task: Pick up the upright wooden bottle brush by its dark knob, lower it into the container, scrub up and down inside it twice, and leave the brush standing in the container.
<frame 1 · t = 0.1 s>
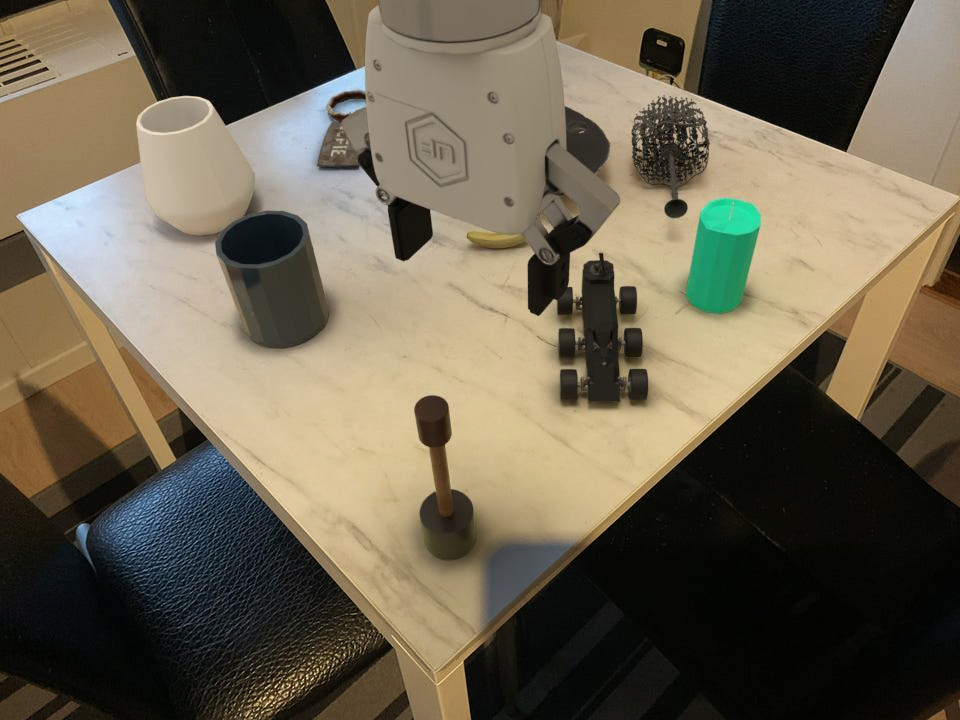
hand: (478, 273, 49), 27 cm above the table, tool pointing down, fingers open, 9 cm apart
protein box: (479, 80, 122), on the table
keychain: (347, 133, 114), on the table
toy vehicle: (598, 353, 81), on the table
banana: (502, 246, 94), on the table
board: (523, 176, 104), on the table
container: (287, 318, 87), on the table
massage brush: (666, 188, 101), on the table
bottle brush: (450, 537, 67), on the table
cup: (211, 214, 102), on the table
candle: (713, 296, 87), on the table
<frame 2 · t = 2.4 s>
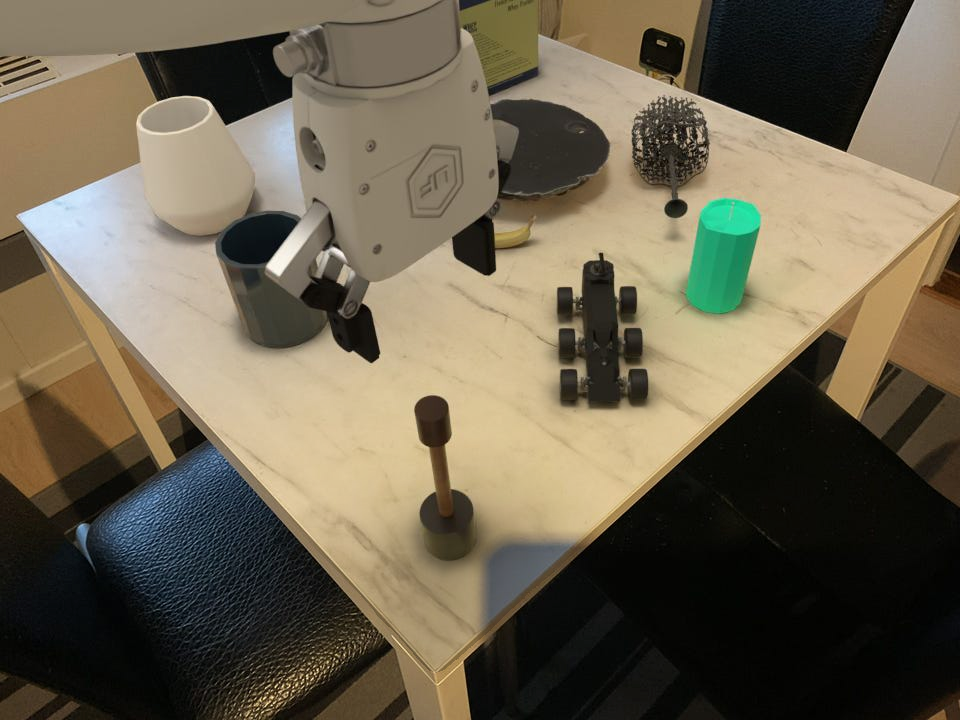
hand: (419, 305, 48), 26 cm above the table, tool pointing down, fingers open, 9 cm apart
nothing on the table moved.
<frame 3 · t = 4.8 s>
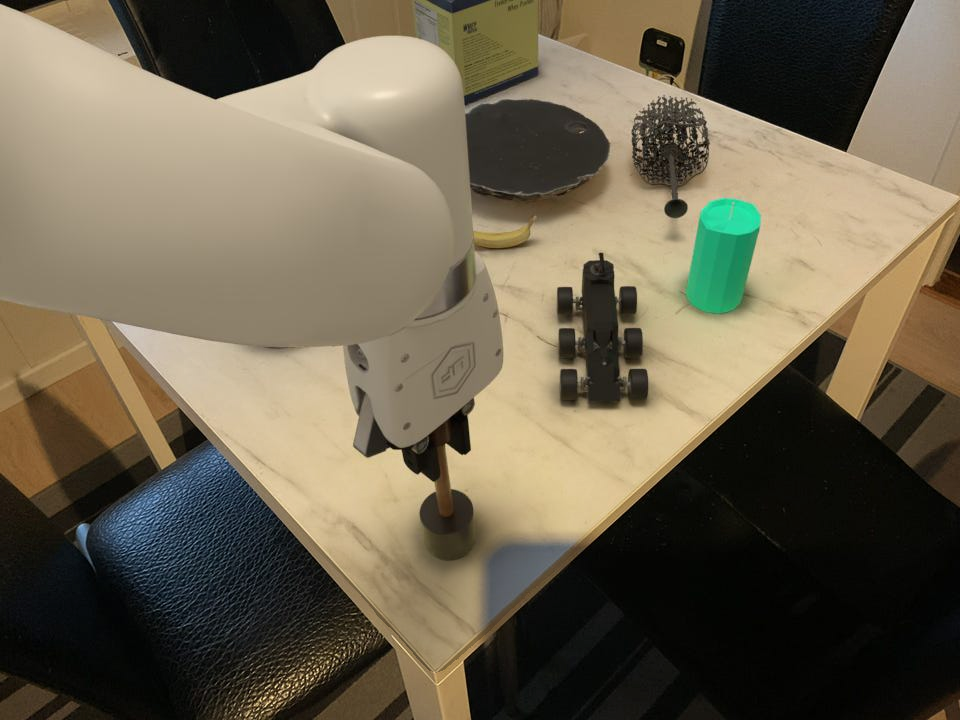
hand: (438, 454, 59), 12 cm above the table, tool pointing down, fingers closed on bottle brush, 2 cm apart
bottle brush: (450, 537, 67), on the table, touching gripper
everything else where it was.
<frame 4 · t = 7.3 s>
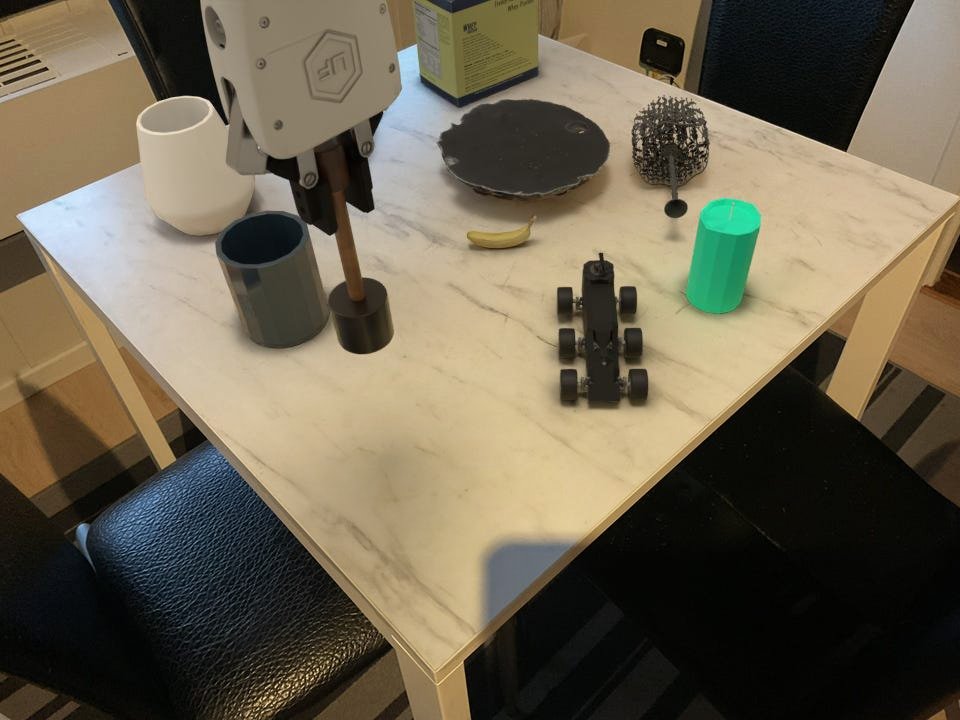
hand: (338, 212, 54), 27 cm above the table, tool pointing down, fingers closed on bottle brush, 2 cm apart
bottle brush: (366, 334, 62), point 16 cm above the table, touching gripper
everything else where it was.
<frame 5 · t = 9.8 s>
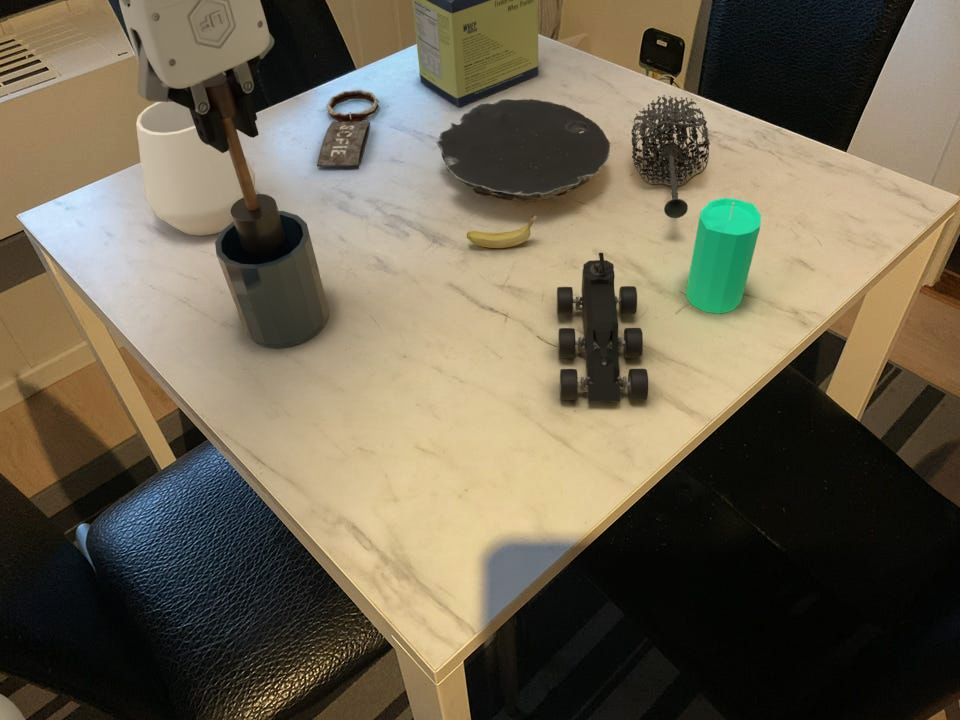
hand: (231, 137, 71), 22 cm above the table, tool pointing down, fingers closed on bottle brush, 2 cm apart
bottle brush: (263, 239, 80), point 11 cm above the table, touching gripper
everything else where it was.
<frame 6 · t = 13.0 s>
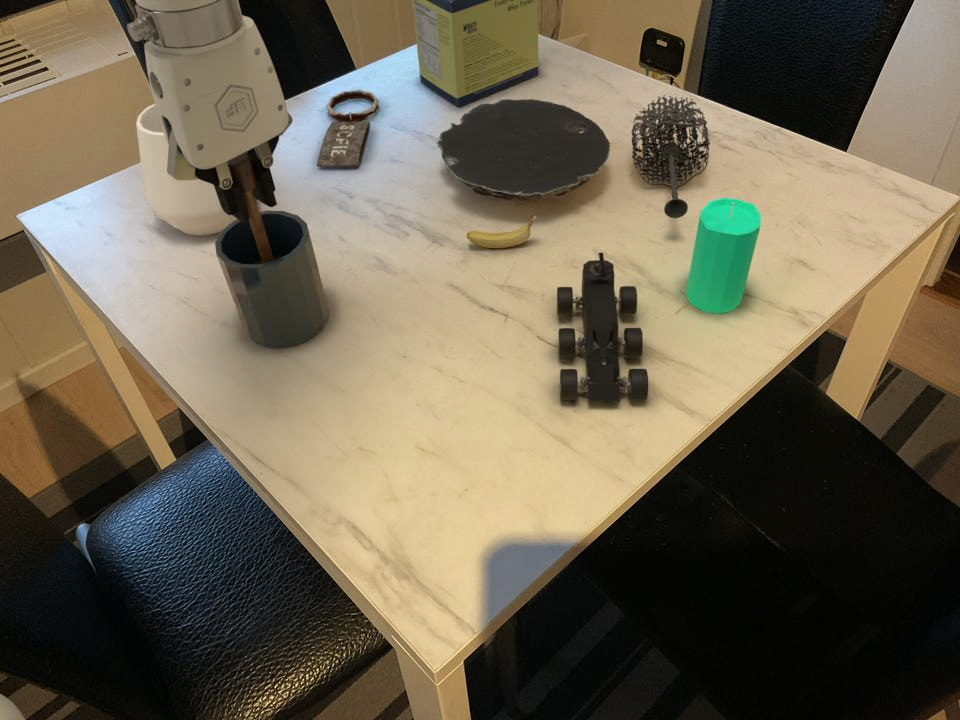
hand: (251, 207, 76), 15 cm above the table, tool pointing down, fingers closed on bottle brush, 2 cm apart
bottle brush: (279, 297, 85), point 3 cm above the table, touching gripper
everything else where it was.
when the fingers open (12 cm above the table, at t = 15.1 s): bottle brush stays where it is, resting on container.
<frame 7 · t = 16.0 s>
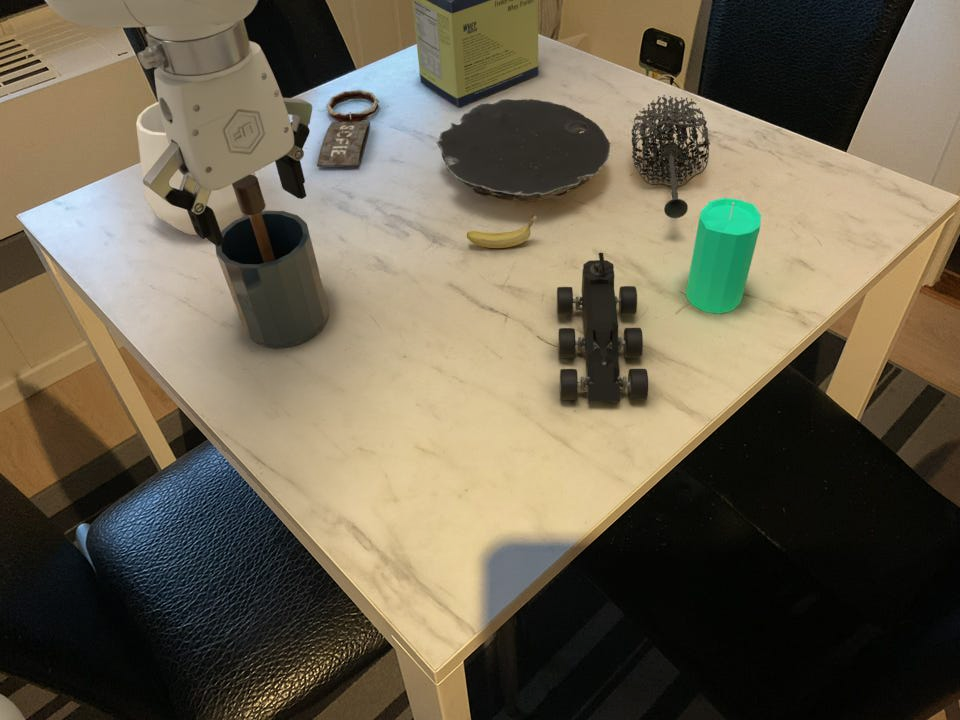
hand: (254, 215, 77), 14 cm above the table, tool pointing down, fingers open, 9 cm apart
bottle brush: (285, 313, 87), point 1 cm above the table, touching container
everything else where it was.
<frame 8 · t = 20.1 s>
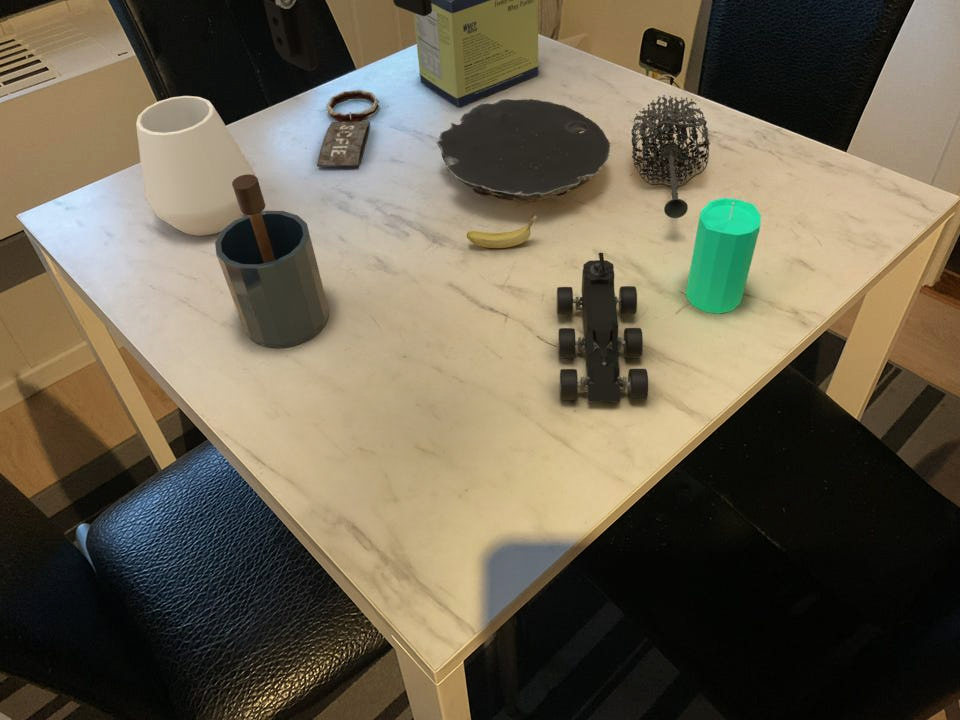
hand: (358, 35, 52), 36 cm above the table, tool pointing down, fingers open, 9 cm apart
nothing on the table moved.
at the end: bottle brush 0.1 cm off-centre in the container, point 0.6 cm above the container's base; the gripper is holding nothing; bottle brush tilted 0° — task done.
